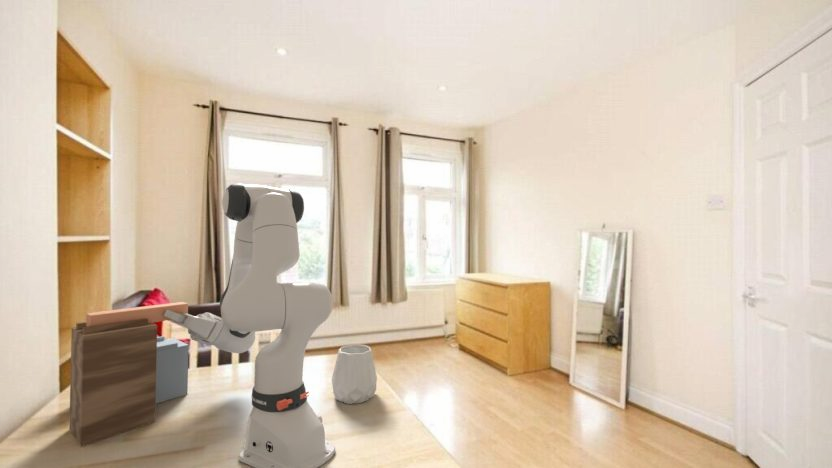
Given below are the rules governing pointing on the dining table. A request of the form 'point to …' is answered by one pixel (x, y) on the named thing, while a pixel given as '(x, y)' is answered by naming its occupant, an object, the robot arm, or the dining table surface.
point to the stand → (112, 378)
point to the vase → (354, 374)
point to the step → (171, 369)
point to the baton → (135, 314)
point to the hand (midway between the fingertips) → (160, 311)
